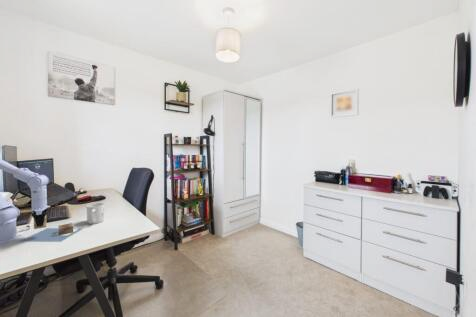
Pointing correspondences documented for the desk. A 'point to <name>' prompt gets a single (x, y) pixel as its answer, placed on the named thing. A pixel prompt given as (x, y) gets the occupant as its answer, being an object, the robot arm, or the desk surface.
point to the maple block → (40, 226)
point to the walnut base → (65, 229)
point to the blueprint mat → (49, 235)
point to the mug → (95, 213)
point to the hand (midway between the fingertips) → (40, 224)
